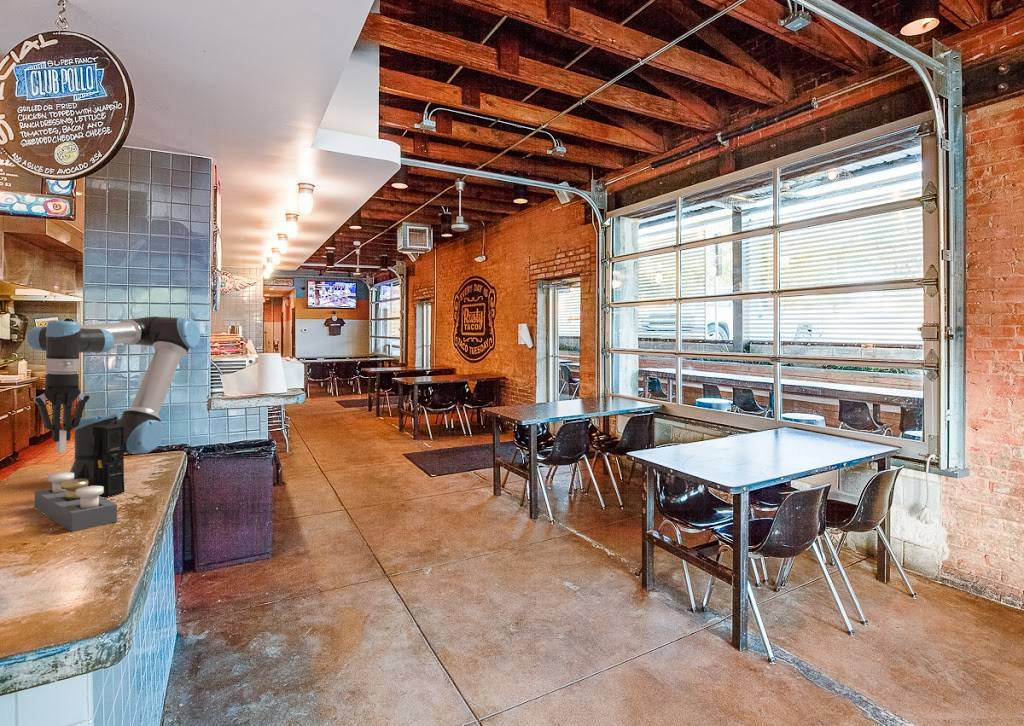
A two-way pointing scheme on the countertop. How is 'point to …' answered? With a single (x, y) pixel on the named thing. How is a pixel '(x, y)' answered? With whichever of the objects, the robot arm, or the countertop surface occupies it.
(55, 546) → the countertop surface
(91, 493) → the knob far
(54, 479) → the knob near arm
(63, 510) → the console
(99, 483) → the portable radio
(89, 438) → the robot arm
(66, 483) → the brass knob
